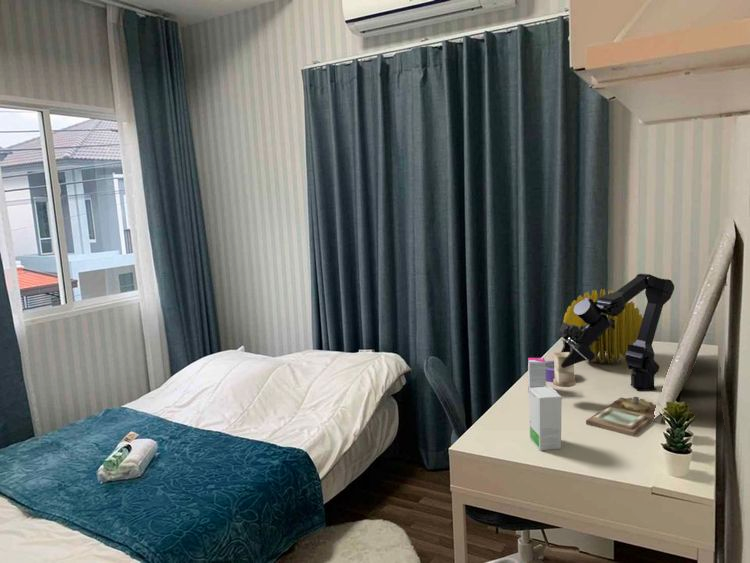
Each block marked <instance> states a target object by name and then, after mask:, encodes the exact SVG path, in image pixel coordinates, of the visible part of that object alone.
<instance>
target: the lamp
mask: <svg viewBox="0 0 750 563" xmlns="http://www.w3.org/2000/svg"><path fill="white" fill-rule="evenodd" d="M599 291H600V292H599V295H598V292H597V289H592V291H591V295H590V293H589V291H587V292H584V294H583V296H582V295H581V294H580V295H578V296H577V299H576V300H575V299H574V300H573V301H571V304H570V305H569V306H568V307H567V309H566V312H565V313H564V316H563V322H564V323H567V324H570V325H572V324H573V325H575V326H578V328H579V327H580V326H582V325H583V326H585V325H586V324H587V323H585V322H584V321H583V320H582V319H581V318H580V317H578V316H577V315H576V314H575V313H574V307H575V305H576V304H577V303H579V302H580V301H582V300H584V299H585V297H587V298H591V299H592V300H593V302H596V301H597V300H598V299H599V298H600V297H602V296H604V295H606V290H605V289H602V288H601V289H600V290H599ZM611 293H614V290H613V289H612V290H611V289H609V290H608V293H607V294H611ZM603 315H605V314H603ZM606 316H607V317H608V318H612V319H613V320H614V321H615V329H613V328H611V327H610V326H609V327H608V328H607V329H606V330H605V332H604V333H603V334H602V335H601V336H600V337H599V338H598V339H599V341H598V342H597V341H595V342H594V343H593V344H592V345H591V346H590V347H589V348H590V350H591V351H592V352H593V353H595V359H594V360H593V361H592V362H591V363H596V362H597V359H598V356H599V362H600V364H605V361H606V360H605V359H606V356H607V360H608V364H613V362H614V357H615V359H616V361H617V362H619V361H620V362H621V359H622V357H624V358H625V359H626V355H625V354H626V352H627V349H628V345H629V344H633V343H635V342H636V340H637V337H638V334H639V330H640V327H641V323H642V320H643V315H642V314H641V313H640V309H639V307H638V306H637V307H635V302H633V300H631V301H630V302H629V301H628V302H627V303H626V305H625V309H624V310H623V311H622V312H621V313H620V314H619V315H618V316H610V315H606ZM563 322H562V323H563ZM585 359H586V361H587V360H588V359H587V358H585ZM588 361H589V360H588Z"/></svg>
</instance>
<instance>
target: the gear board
mask: <svg viewBox="0 0 750 563" xmlns="http://www.w3.org/2000/svg"><path fill="white" fill-rule="evenodd" d="M656 405H657V404H654V402H651V401H646V400H645V399H644V398H640V397H638V396H633V398H632V397H628V398H625V397H620V398H618V399H616V400H615V401H613V402H612V403H610V404H609V405H607V406H606V407H604V408H602V409H601V410H600V411H598V412H596V413H595V414H593V415H592V416H590V417H589V418H587V419H586V420H585V424H586V425H588V426H592V427H597V428H601V429H605V430H608V431H611V432H614V433H615V432H616V433H619V434H623V435H626V436H631V437H634V436H635V435H637V434H638V433H639V432H641V431H642V430H643V429H644V428H646V427H647V426H648V425H649V424H650V423H652V422H654V420H655V419H654V417H655V415H654V411H655V408H656ZM653 419H654V420H653Z"/></svg>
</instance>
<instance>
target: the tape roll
mask: <svg viewBox="0 0 750 563" xmlns="http://www.w3.org/2000/svg"><path fill="white" fill-rule="evenodd" d="M545 362H546V382H548V383H553V379H554V378H555V372H554V360H545Z"/></svg>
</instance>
